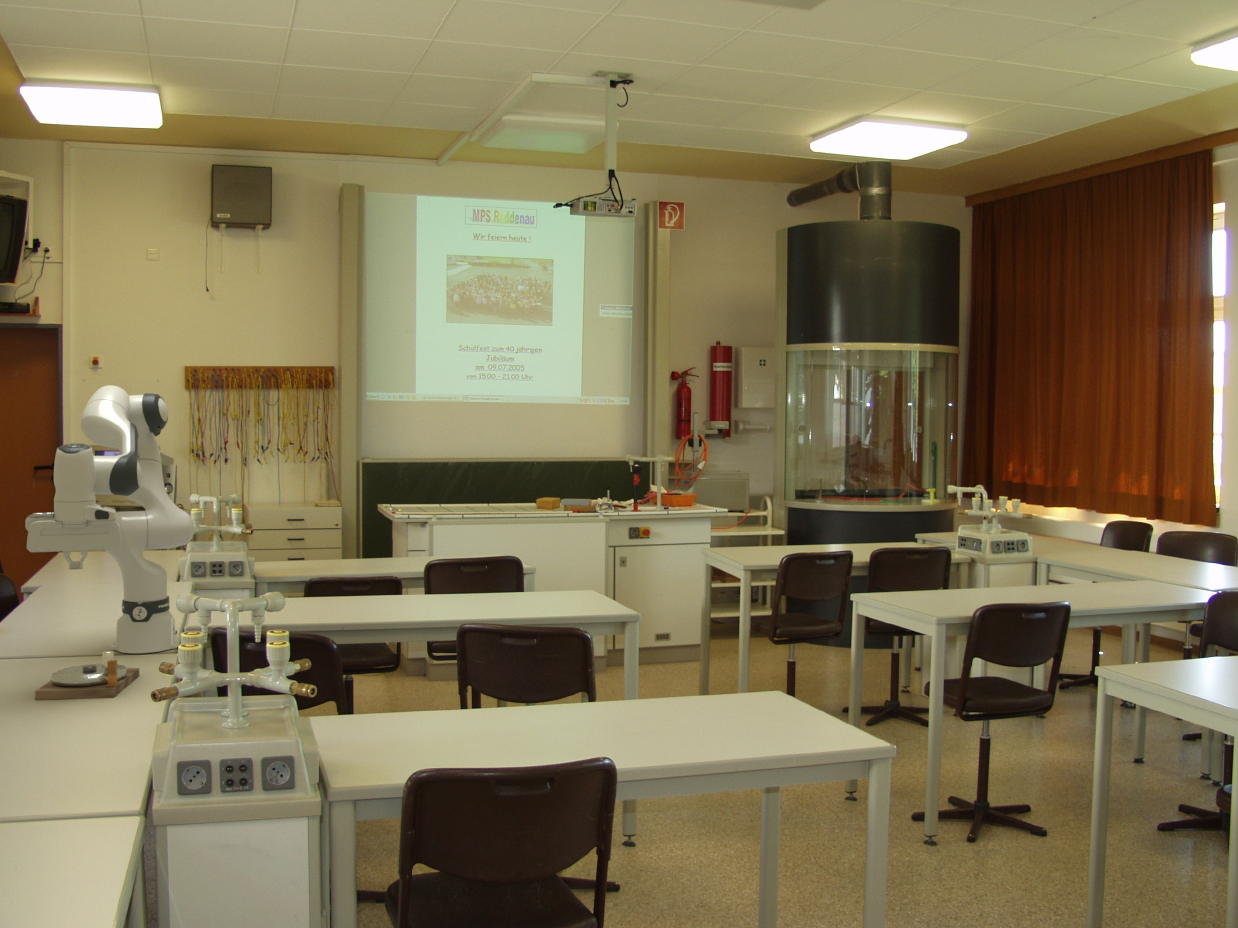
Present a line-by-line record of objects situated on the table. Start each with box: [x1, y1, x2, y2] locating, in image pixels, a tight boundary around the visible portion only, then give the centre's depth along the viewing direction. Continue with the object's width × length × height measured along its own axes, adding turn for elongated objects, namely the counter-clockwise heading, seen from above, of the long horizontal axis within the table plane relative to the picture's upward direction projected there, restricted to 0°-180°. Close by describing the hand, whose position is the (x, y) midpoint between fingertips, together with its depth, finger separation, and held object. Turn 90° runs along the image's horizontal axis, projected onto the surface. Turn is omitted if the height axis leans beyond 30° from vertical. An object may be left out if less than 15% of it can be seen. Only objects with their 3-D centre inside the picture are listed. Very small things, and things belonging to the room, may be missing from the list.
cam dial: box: [51, 649, 128, 687], centre depth 243 cm, size 16×16×7 cm
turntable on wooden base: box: [34, 659, 141, 701], centre depth 243 cm, size 20×17×8 cm
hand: (75, 568), depth 243 cm, fingers closed
